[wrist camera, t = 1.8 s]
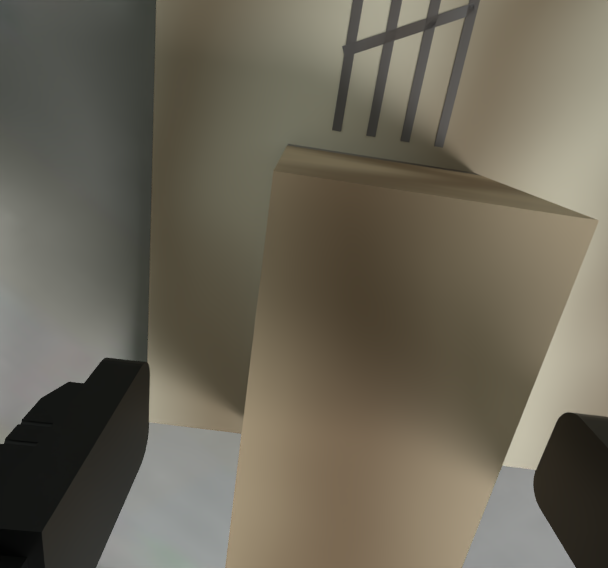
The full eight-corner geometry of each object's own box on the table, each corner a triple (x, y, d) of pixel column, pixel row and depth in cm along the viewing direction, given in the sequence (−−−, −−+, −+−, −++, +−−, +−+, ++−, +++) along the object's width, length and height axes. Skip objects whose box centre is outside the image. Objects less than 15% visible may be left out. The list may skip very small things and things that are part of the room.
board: (1127, -468, 9) (1251, -555, 8) (635, 460, 17) (659, 485, 16) (195, -696, 8) (176, -833, 7) (157, 399, 16) (145, 421, 15)
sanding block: (473, 172, 12) (598, 220, 7) (398, 440, 15) (445, 609, 10) (287, 143, 12) (273, 171, 7) (251, 422, 15) (222, 586, 10)
